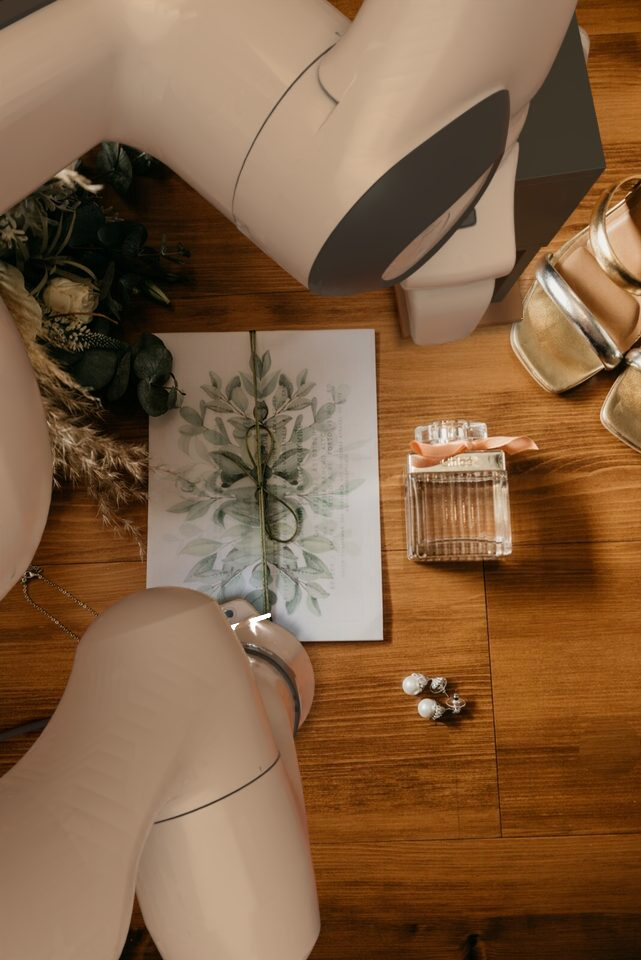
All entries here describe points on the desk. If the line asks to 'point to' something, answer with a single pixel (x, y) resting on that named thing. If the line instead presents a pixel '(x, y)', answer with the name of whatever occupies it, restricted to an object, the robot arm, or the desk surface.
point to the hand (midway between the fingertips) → (407, 235)
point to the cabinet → (554, 156)
